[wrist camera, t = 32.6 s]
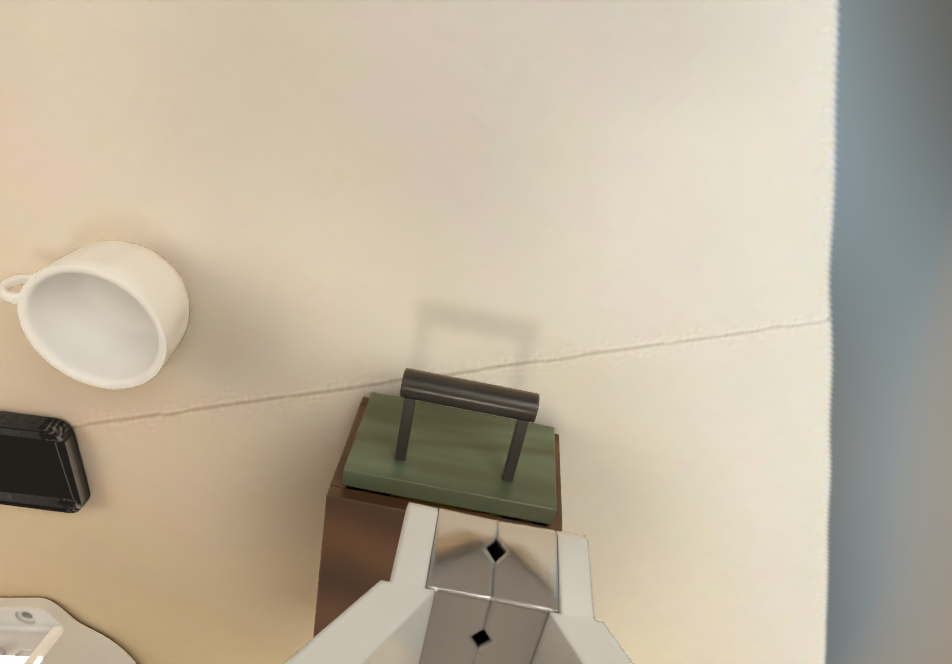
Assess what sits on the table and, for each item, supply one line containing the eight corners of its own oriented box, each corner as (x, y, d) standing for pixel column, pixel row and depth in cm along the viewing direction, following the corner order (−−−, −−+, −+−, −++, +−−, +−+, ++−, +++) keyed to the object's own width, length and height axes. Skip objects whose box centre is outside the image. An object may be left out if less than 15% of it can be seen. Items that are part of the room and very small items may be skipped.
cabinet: (363, 396, 44) (326, 495, 36) (559, 434, 44) (563, 540, 37) (343, 558, 52) (310, 667, 44) (510, 589, 52) (505, 704, 45)
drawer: (381, 311, 40) (353, 381, 34) (578, 350, 40) (584, 426, 34) (351, 547, 50) (325, 634, 44) (508, 577, 50) (504, 667, 44)
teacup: (210, 243, 40) (167, 286, 35) (205, 353, 43) (165, 405, 39) (34, 198, 39) (-35, 236, 34) (44, 314, 43) (-16, 361, 38)
